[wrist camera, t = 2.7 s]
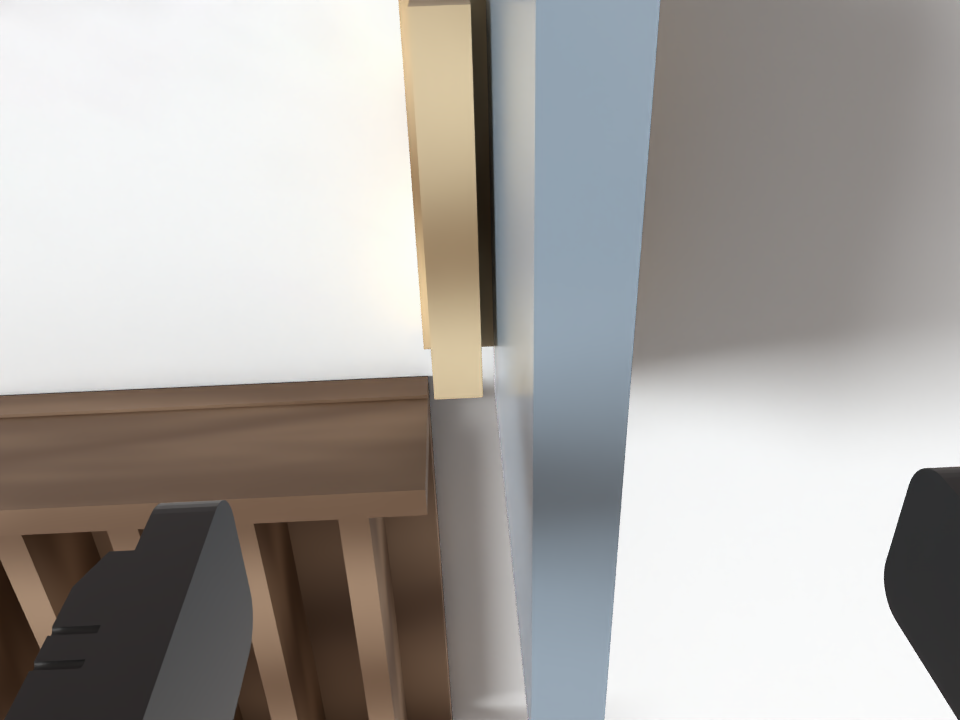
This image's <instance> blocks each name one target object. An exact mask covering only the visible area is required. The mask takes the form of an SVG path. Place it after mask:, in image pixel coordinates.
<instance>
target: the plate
mask: <svg viewBox="0 0 960 720" xmlns="http://www.w3.org/2000/svg"><path fill="white" fill-rule="evenodd" d="M659 11H660V0H486V37H487V81H488V125H489V169H490V212H491V256H492V300H493V344H494V387H495V401H496V411H497V420H498V430H499V440H500V450H501V459H502V469H503V479H504V489H505V498H506V508H507V518H508V528H509V538H510V547H511V557H512V567H513V577H514V586H515V596H516V606H517V616H518V625H519V635H520V645H521V655H522V665H523V674H524V684H525V694H526V704H527V713H528V720H604V717H605V704H606V691H607V679H608V666H609V653H610V640H611V627H612V614H613V602H614V589H615V576H616V563H617V550H618V537H619V525H620V512H621V499H622V486H623V473H624V460H625V448H626V435H627V422H628V409H629V396H630V383H631V371H632V358H633V345H634V332H635V319H636V307H637V294H638V281H639V268H640V255H641V242H642V230H643V217H644V204H645V191H646V178H647V165H648V153H649V140H650V127H651V114H652V101H653V88H654V76H655V63H656V50H657V37H658V24H659Z"/></svg>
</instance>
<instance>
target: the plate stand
mask: <svg viewBox="0 0 960 720" xmlns="http://www.w3.org/2000/svg"><path fill="white" fill-rule="evenodd" d="M398 1H399V14H400V28H401V42H402V55H403V69H404V83H405V96H406V110H407V124H408V137H409V151H410V165H411V178H412V192H413V206H414V219H415V233H416V247H417V260H418V274H419V288H420V301H421V315H422V329H423V342H424V349H431V357H432V372H433V387H434V400H436V399H458V398H480V397H483V383H482V352H481V347H486V346H494V344H493V300H492V256H491V212H490V169H489V125H488V81H487V37H486V0H398Z"/></svg>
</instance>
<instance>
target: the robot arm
mask: <svg viewBox="0 0 960 720" xmlns="http://www.w3.org/2000/svg"><path fill="white" fill-rule="evenodd" d="M884 585H885V592H886V597H887V601H888V604H889V607H890V609H891V612H892V614H893V616H894V618H895V620H896V621H897V623H898V625H899V626H900V628H901V629H902V631H903V633H904V634H905V636H906V637H907V639H908V641H909V642H910V644H911V645H912V647H913V648H914V650H915V652H916V653H917V655H918V656H919V658H920V660H921V661H922V663H923V664H924V666H925V668H926V669H927V671H928V672H929V674H930V676H931V677H932V679H933V680H934V682H935V684H936V685H937V687H938V688H939V690H940V692H941V693H942V695H943V696H944V698H945V700H946V701H947V703H948V704H949V706H950V708H951V709H952V711H953V712H954V714H955V716H956V717H957V719H958V720H960V467H942V468H924V469H921V470H919V471H917V472H916V473H915V474H914V476H913V477H912V479H911V481H910V484H909V487H908V490H907V493H906V497H905V500H904V503H903V507H902V510H901V513H900V517H899V520H898V523H897V526H896V530H895V533H894V536H893V540H892V543H891V546H890V550H889V553H888V556H887V560H886V563H885V569H884ZM252 630H253V607H252V597H251V592H250V587H249V583H248V578H247V574H246V569H245V565H244V561H243V556H242V552H241V547H240V543H239V538H238V534H237V529H236V525H235V520H234V516H233V512H232V509H231V506H230V505H229V503H228V502H227V501H226V500H215V501H194V502H173V503H160V504H158V505H157V506H156V507H155V508H154V509H153V511H152V513H151V515H150V517H149V519H148V522H147V524H146V526H145V528H144V530H143V533H142V535H141V537H140V539H139V542H138V544H137V546H136V548H135V550H128V551H109V552H108V553H107V554H106V555H105V556H104V557H103V558H102V559H101V560H100V561H99V562H98V563H97V564H96V565H95V566H94V567H93V568H92V569H90V570H89V571H88V572H87V573H86V574H85V575H84V576H83V577H82V578H81V579H80V580H79V581H78V582H77V583H76V584H75V585H74V586H73V587H72V589H71V591H70V593H69V595H68V597H67V599H66V601H65V602H64V604H63V606H62V608H61V610H60V612H59V614H58V616H57V618H56V620H55V622H54V624H53V626H52V634H51V636H47V637H46V639H45V641H44V643H43V645H42V647H41V649H40V651H39V653H38V655H37V657H36V659H35V661H34V669H33V671H29V672H28V674H27V676H26V678H25V680H24V682H23V684H22V686H21V688H20V690H19V692H18V694H17V696H16V698H15V700H14V702H13V703H12V705H11V707H10V709H9V711H8V713H7V715H6V717H5V719H4V720H233V719H234V715H235V710H236V706H237V702H238V698H239V694H240V690H241V685H242V681H243V677H244V673H245V669H246V665H247V661H248V656H249V652H250V647H251V641H252Z"/></svg>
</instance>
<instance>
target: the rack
mask: <svg viewBox="0 0 960 720" xmlns="http://www.w3.org/2000/svg"><path fill="white" fill-rule="evenodd" d="M215 500H226V501H227V502H228V503H229V505H230V506H231V509H232V512H233V516H234V520H235V525H236V529H237V534H238V538H239V543H240V547H241V552H242V556H243V561H244V565H245V569H246V574H247V578H248V583H249V587H250V592H251V597H252V607H253V630H252V641H251V647H250V652H249V656H248V661H247V665H246V669H245V673H244V677H243V681H242V685H241V690H240V694H239V698H238V702H237V706H236V710H235V715H234V719H233V720H452V706H451V692H450V678H449V664H448V650H447V636H446V622H445V609H444V595H443V581H442V567H441V553H440V539H439V525H438V511H437V497H436V483H435V469H434V455H433V441H432V427H431V413H430V400H429V386H428V376H426V377H404V378H382V379H360V380H338V381H316V382H295V383H273V384H251V385H229V386H207V387H185V388H163V389H141V390H119V391H97V392H75V393H53V394H31V395H9V396H0V720H4V719H5V717H6V715H7V713H8V711H9V709H10V707H11V705H12V703H13V702H14V700H15V698H16V696H17V694H18V692H19V690H20V688H21V686H22V684H23V682H24V680H25V678H26V676H27V674H28V672H29V671H33V669H34V661H35V659H36V657H37V655H38V653H39V651H40V649H41V647H42V645H43V643H44V641H45V639H46V637H47V636H51V634H52V626H53V624H54V622H55V620H56V618H57V616H58V614H59V612H60V610H61V608H62V606H63V604H64V602H65V601H66V599H67V597H68V595H69V593H70V591H71V589H72V587H73V586H74V585H75V584H76V583H77V582H78V581H79V580H80V579H81V578H82V577H83V576H84V575H85V574H86V573H87V572H88V571H89V570H90V569H92V568H93V567H94V566H95V565H96V564H97V563H98V562H99V561H100V560H101V559H102V558H103V557H104V556H105V555H106V554H107V553H108V552H109V551H128V550H135V548H136V546H137V544H138V542H139V539H140V537H141V535H142V533H143V530H144V528H145V526H146V524H147V522H148V519H149V517H150V515H151V513H152V511H153V509H154V508H155V507H156V506H157V505H158V504H160V503H173V502H194V501H215Z"/></svg>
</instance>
